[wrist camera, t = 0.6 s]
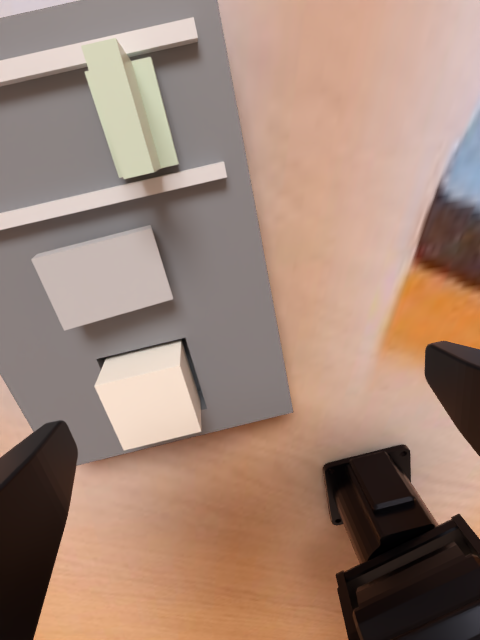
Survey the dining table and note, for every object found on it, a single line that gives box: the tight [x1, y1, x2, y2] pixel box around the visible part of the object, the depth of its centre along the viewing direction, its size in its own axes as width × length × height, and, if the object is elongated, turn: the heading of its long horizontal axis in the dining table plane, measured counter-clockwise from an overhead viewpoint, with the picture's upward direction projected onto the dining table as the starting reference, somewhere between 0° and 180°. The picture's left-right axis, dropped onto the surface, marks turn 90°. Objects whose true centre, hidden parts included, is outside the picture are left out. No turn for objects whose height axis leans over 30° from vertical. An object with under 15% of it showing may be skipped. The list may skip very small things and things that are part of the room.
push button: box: [94, 340, 201, 450], centre depth 19 cm, size 4×4×3 cm
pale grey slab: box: [31, 225, 173, 331], centre depth 16 cm, size 3×5×1 cm
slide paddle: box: [81, 38, 179, 179], centre depth 13 cm, size 4×2×4 cm, turn 12°
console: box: [0, 0, 293, 466], centre depth 18 cm, size 20×14×4 cm
